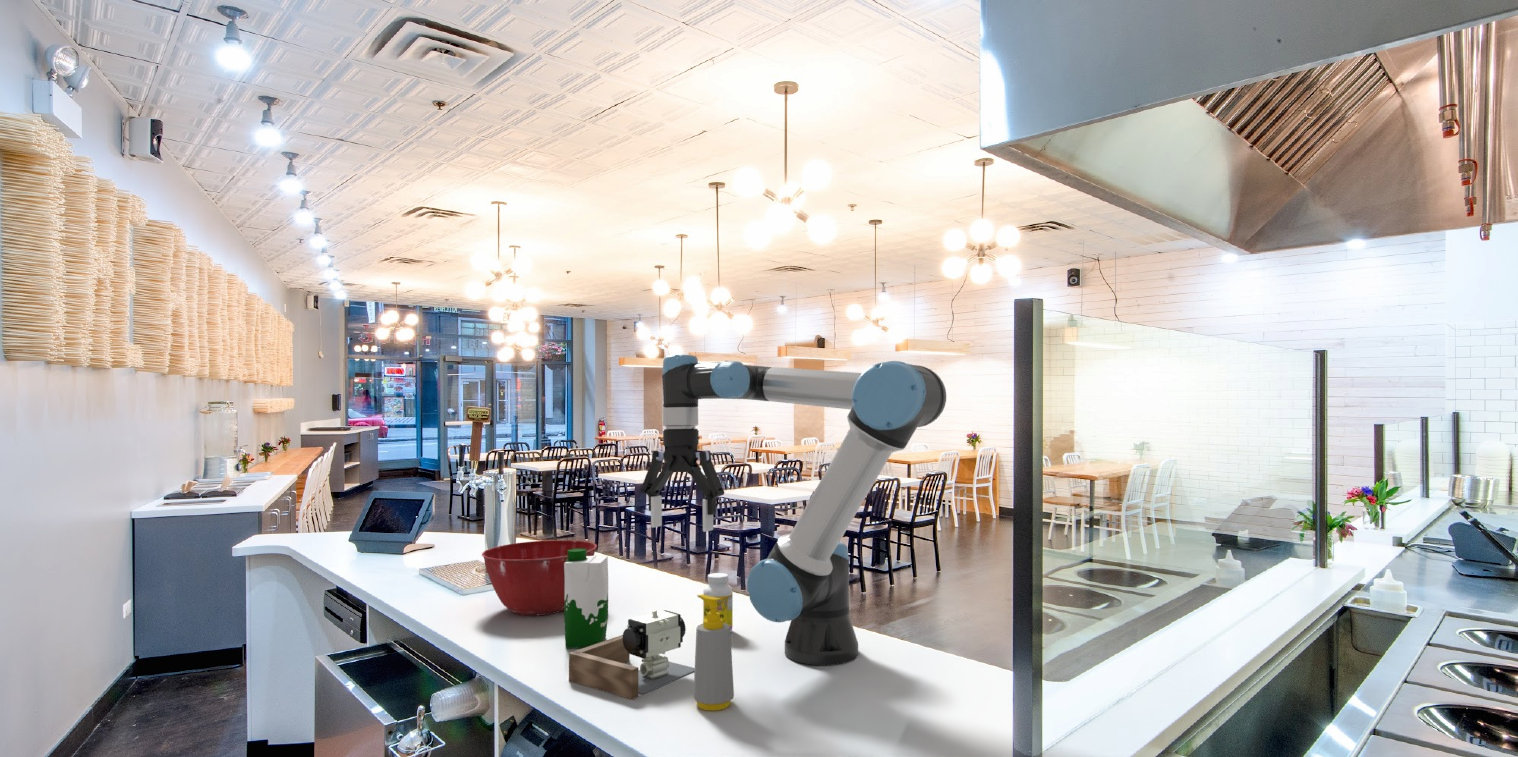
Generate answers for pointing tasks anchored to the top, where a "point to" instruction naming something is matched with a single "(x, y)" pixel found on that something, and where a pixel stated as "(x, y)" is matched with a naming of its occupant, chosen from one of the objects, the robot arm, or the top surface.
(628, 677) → the walnut corner
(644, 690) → the slate pad
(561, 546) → the mixing bowl
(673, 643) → the pneumatic valve
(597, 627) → the milk carton
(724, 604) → the supplement bottle
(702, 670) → the soap bottle
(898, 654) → the top surface
